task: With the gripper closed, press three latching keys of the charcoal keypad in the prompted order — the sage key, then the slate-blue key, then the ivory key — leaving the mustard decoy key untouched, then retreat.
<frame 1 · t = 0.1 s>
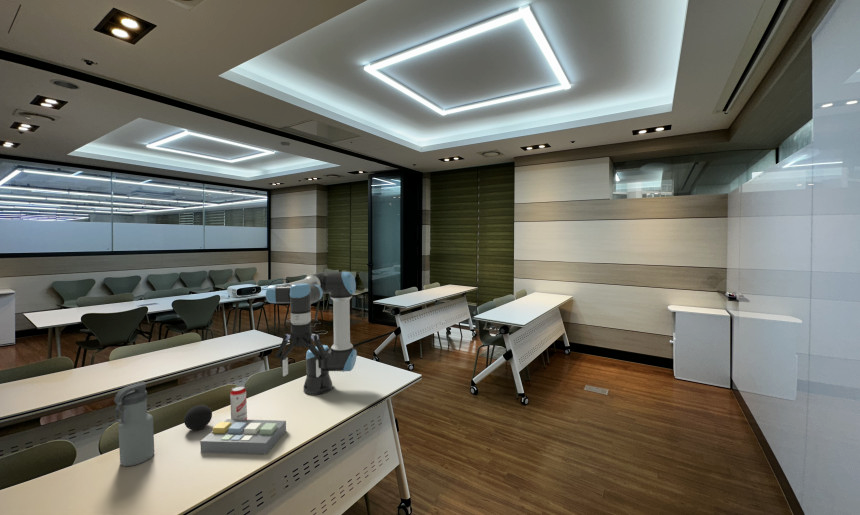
hand: (301, 375, 135), 28 cm above the table, fingers open, 13 cm apart
beer can: (239, 423, 151), on the table
key ivory: (253, 428, 137), point 5 cm above the table, slide at 0.0 cm
key mustard: (222, 427, 138), point 5 cm above the table, slide at 0.0 cm
key slate: (237, 428, 138), point 5 cm above the table, slide at 0.0 cm
keypad: (245, 441, 138), on the table
water bottle: (137, 459, 127), on the table
key sage: (268, 429, 137), point 5 cm above the table, slide at 0.0 cm
speaker: (198, 428, 147), on the table
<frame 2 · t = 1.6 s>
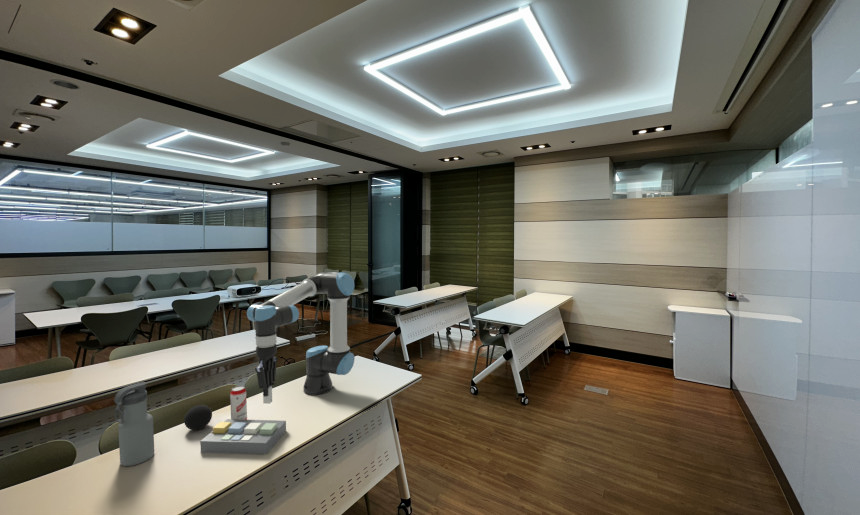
hand: (267, 402, 136), 16 cm above the table, fingers closed
nothing on the table moved.
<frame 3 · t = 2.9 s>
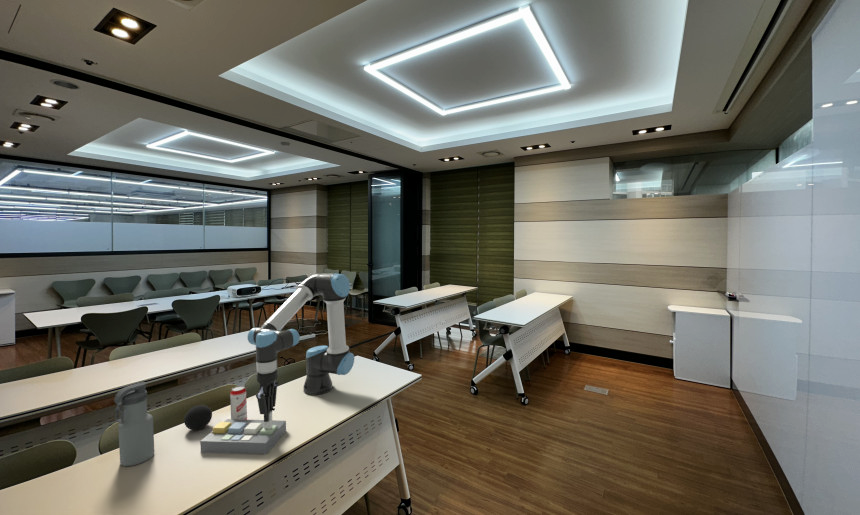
hand: (268, 427, 137), 6 cm above the table, fingers closed
key sage: (268, 431, 137), point 4 cm above the table, slide at 0.8 cm, touching gripper
everything else where it was.
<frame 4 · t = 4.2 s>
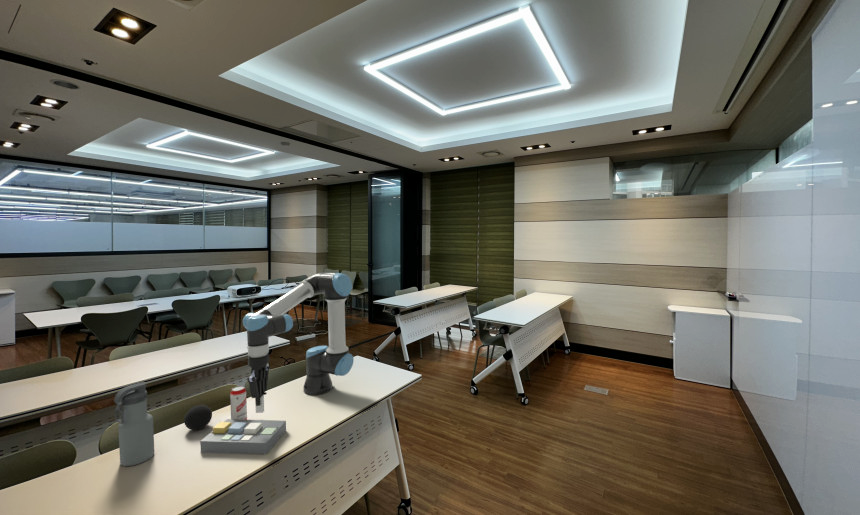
hand: (259, 411, 137), 12 cm above the table, fingers closed
key sage: (268, 433, 137), point 3 cm above the table, slide at 1.9 cm
everything else where it was.
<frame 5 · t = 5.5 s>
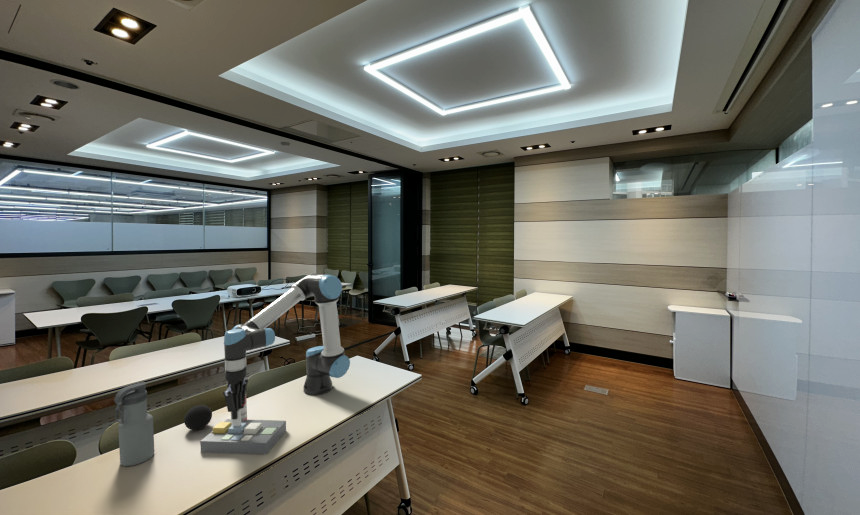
hand: (236, 425, 137), 7 cm above the table, fingers closed
key slate: (237, 428, 138), point 5 cm above the table, slide at 0.2 cm, touching gripper
everything else where it was.
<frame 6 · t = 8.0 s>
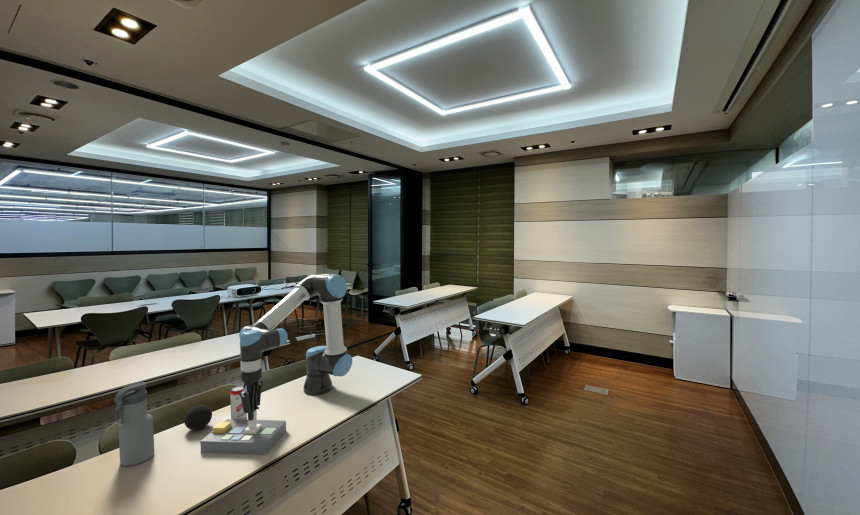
hand: (252, 426, 137), 6 cm above the table, fingers closed
key ivory: (253, 429, 137), point 5 cm above the table, slide at 0.5 cm, touching gripper
key slate: (237, 432, 138), point 3 cm above the table, slide at 1.9 cm
everything else where it was.
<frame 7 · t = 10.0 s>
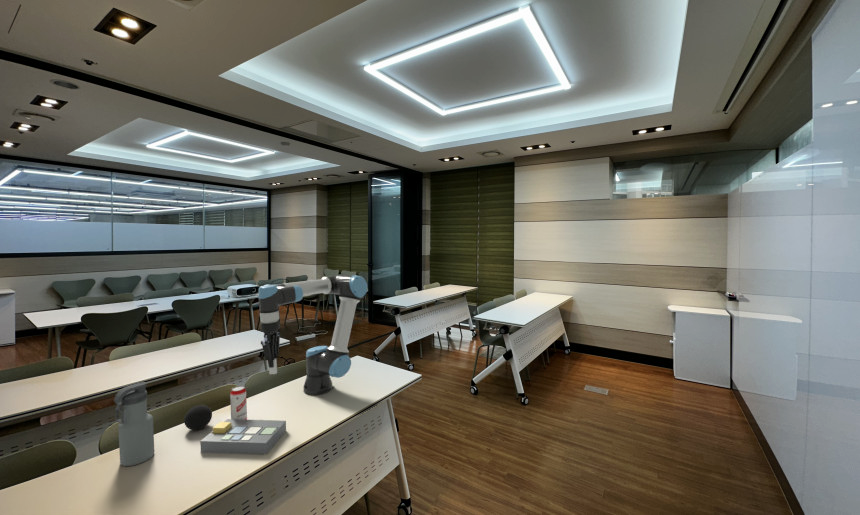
hand: (273, 373, 149), 23 cm above the table, fingers closed
key ivory: (253, 433, 137), point 3 cm above the table, slide at 1.9 cm
everything else where it was.
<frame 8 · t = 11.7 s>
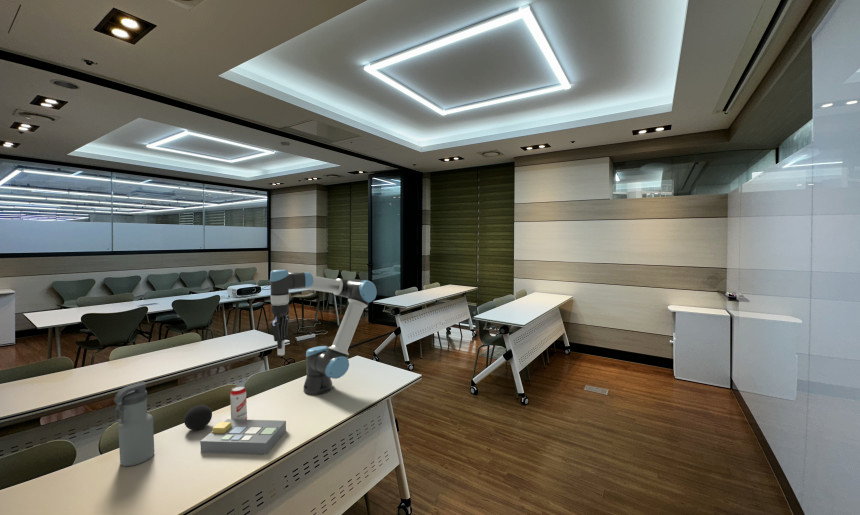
hand: (281, 354, 155), 29 cm above the table, fingers closed
nothing on the table moved.
at the end: key sage slide at 1.9 cm; key slate slide at 1.9 cm; key ivory slide at 1.9 cm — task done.
